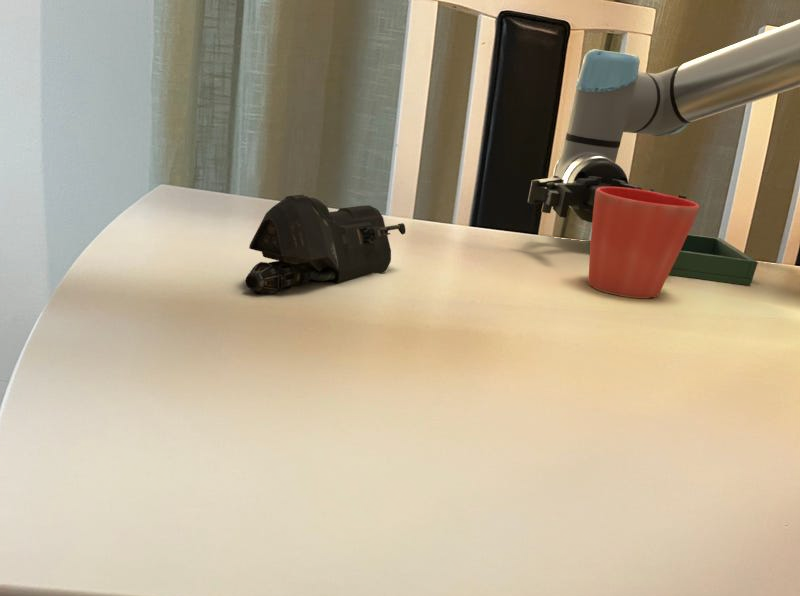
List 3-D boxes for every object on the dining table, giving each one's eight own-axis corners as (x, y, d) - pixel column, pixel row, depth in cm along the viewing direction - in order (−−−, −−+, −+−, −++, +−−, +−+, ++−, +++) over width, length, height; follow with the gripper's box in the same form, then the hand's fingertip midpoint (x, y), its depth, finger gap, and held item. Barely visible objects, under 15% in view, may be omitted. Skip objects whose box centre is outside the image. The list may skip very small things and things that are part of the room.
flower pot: (685, 307, 107) (714, 209, 102) (584, 294, 106) (608, 195, 101) (659, 285, 116) (684, 194, 111) (565, 274, 115) (586, 182, 110)
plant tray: (714, 260, 137) (720, 238, 135) (750, 285, 123) (758, 262, 121) (593, 243, 137) (599, 221, 135) (615, 267, 123) (622, 243, 121)
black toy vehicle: (399, 277, 106) (412, 194, 102) (284, 307, 86) (294, 205, 82) (342, 264, 108) (353, 182, 104) (216, 290, 89) (224, 191, 84)
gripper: (679, 231, 135) (721, 261, 117) (495, 206, 135) (509, 232, 117) (696, 170, 131) (743, 192, 113) (507, 144, 131) (524, 162, 113)
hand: (624, 212), depth 115 cm, fingers open, 13 cm apart
